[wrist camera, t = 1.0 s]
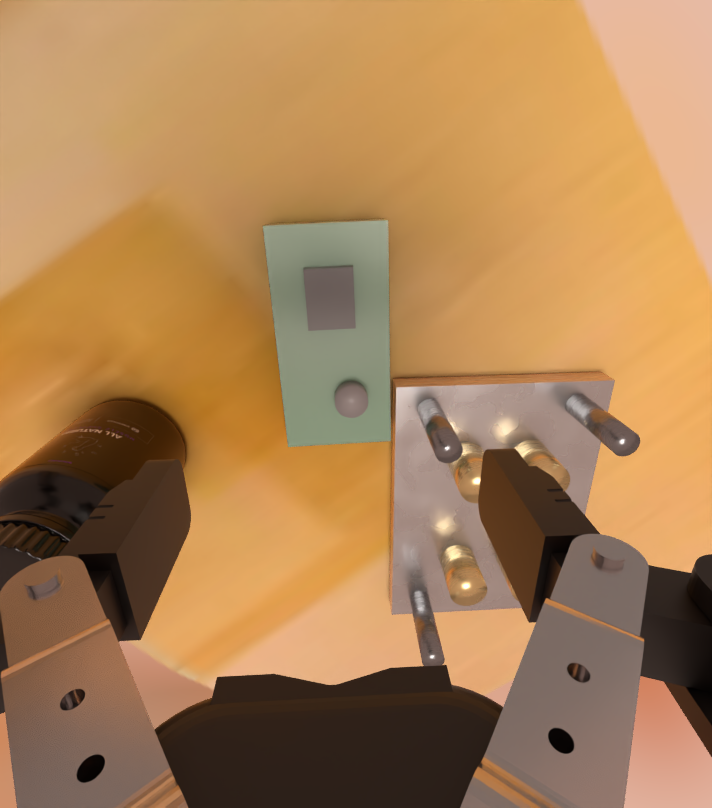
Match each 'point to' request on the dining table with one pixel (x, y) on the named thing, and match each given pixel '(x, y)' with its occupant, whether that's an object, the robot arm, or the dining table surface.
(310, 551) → the dining table surface
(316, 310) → the board
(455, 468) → the chassis
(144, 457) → the supplement bottle
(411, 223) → the dining table surface
